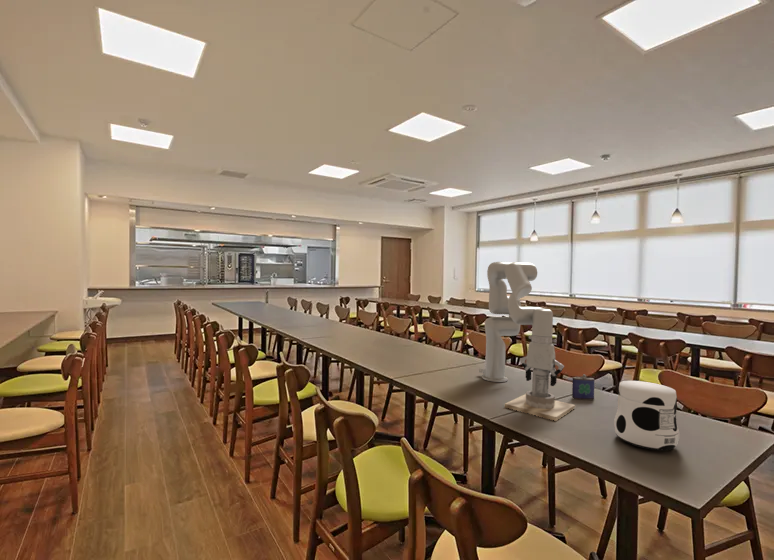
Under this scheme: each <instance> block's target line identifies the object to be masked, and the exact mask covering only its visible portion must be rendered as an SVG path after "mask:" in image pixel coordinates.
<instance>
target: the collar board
mask: <svg viewBox="0 0 774 560" xmlns="http://www.w3.org/2000/svg"><path fill="white" fill-rule="evenodd" d="M504 408H505V409H508V408H509V410H512V409H513V411H516V410H517V412H520V411H521V412H520V413H523V412H525V413H524V414H527V413H529V414H528V415H531V414H533V415H532V416H534V415H536V417H538V416H539V418H542V417H543V419H546V420H549V419H550V420H549V421H553V420H554V421H553V422H557V421H559V420H560V419H561V417H562V418H563V417H564V415H565V416H566V415H568V414H569V413H571V412H572V411H573V409H574V408H576V405H575V404H573V403H568V402H565V401H564V402H563V401H560V400H556V397H555V395H554V393H553V394H552V393H550V392H549V391H548V397H546V398H544V397H536V396H533V395H532V390H527V391H526V392H525V394H522V395H520V396H518V397H516V398H513V399H512V400H509V401H508V402H505V403H504ZM571 410H572V411H571ZM574 410H575V409H574ZM570 411H571V412H570ZM567 413H568V414H567ZM558 419H559V420H558Z"/></svg>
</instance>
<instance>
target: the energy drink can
mask: <svg viewBox="0 0 774 560" xmlns="http://www.w3.org/2000/svg"><path fill="white" fill-rule="evenodd" d="M549 377H550V371H547V370H541V369H536V368H532V378H531V380H532V385H531V386H532V387H531V391H532V395H533V396H536V397H544V398H546V397H548V392H549V383H550V380H549V379H550V378H549Z"/></svg>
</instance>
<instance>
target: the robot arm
mask: <svg viewBox="0 0 774 560" xmlns="http://www.w3.org/2000/svg"><path fill="white" fill-rule="evenodd" d="M486 277H487V280H488V281H487V282H488V285H489V290H488V292H489V293H488V310H489V312H490V313H491V314H493V315H508V316H492V317H491V316H490V317H488V318H487V319H485V322H484V330H485V365H484V366H485V368H483V367H479V369H478V373H481V374H482V375H481V378H482V379H483V380H485V381H487V382H492V383H505V382H507V381H508V377H507V376H506V375H505V374H506V373H505V372H506V343H505V341H504V339H503V338H502V337H505V336H507V337H510V336H511V337H512V336H513V337H514V336H518V335H519V333H520V331H521V325H522V326H528V325H529V326H531V327H532V328H531V335H528V339H529V340H531V341H530V342H529V343H528V349H527V353H526V356H523V357H520V358H519V361H520V363H521V366H522V368H523V369H524V371H525V378H526V382H529V381H531V380H532V370H531V369H534V368H536V369H541V370H547V371H549V373H550V374H551V375H550V386H551V387H554V386H556V384H557V381H558V380H557V376H558V375H559V374H560V373H561V372H562V371H563V369H564V368H565V365H564V364H563V363H561V362H559V361H558V360H556V349H555V345H554V344H553V328H554V327H553V326H554V325H553V324H554V323H553V322H554V312H553V311H552V310H551V309H549V308H544V307H541V306H522V303H521V299H522V298H525V297H527V296H528V295H529V294H530V293H531V292H532V288H533V287H532V284H531V282H533V281H534V280H536V279H537V277H538V269H537V267H536V265H535V264H533V263H532V262H517V261H516V262H512V261H494V262H491V263H490V264H489V265H488V266H487V271H486ZM505 280H507V283H508V285H509V287H510V291H511V293H510V295H508V294H507V293H508V286H507V284H506V282H505ZM556 366H557V367H558V368H557V370H556Z"/></svg>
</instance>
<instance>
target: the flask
mask: <svg viewBox="0 0 774 560" xmlns="http://www.w3.org/2000/svg"><path fill="white" fill-rule="evenodd" d="M571 379H572V383H571V384H572V386H571V387H572V390H571V392H572V393H571V397H572V399H573V398H575V399H574V400H580V399H594V400H595V378H593V377H587V375H586V374H585V373H584V374H582V376H575V377H574V376H573V377H572V378H571Z"/></svg>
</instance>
